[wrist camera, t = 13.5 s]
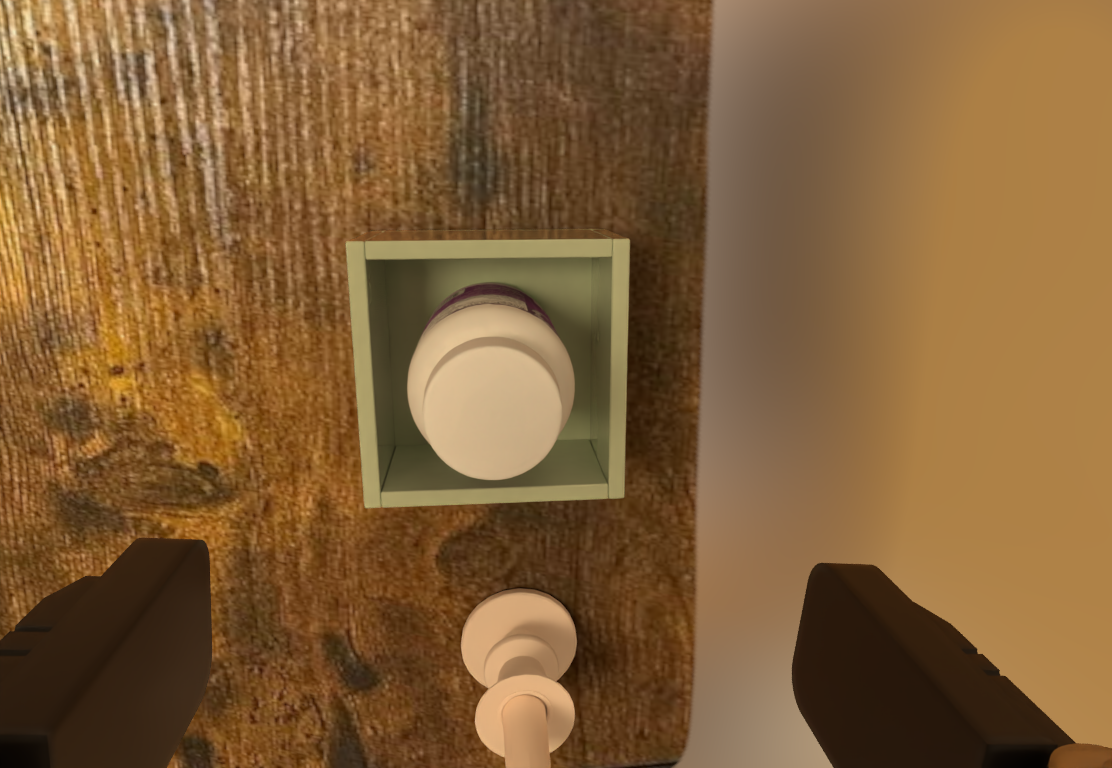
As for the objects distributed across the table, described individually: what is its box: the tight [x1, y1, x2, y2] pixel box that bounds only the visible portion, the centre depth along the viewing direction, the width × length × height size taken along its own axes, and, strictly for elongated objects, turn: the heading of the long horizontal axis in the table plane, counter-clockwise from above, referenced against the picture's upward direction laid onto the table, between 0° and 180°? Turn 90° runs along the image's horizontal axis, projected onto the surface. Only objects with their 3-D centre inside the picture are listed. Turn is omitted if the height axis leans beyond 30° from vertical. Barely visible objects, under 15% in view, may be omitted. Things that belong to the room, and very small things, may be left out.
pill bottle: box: [407, 282, 575, 480], centre depth 26 cm, size 5×5×10 cm
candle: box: [461, 588, 577, 768], centre depth 30 cm, size 5×5×10 cm
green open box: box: [345, 229, 630, 508], centre depth 29 cm, size 9×9×6 cm
